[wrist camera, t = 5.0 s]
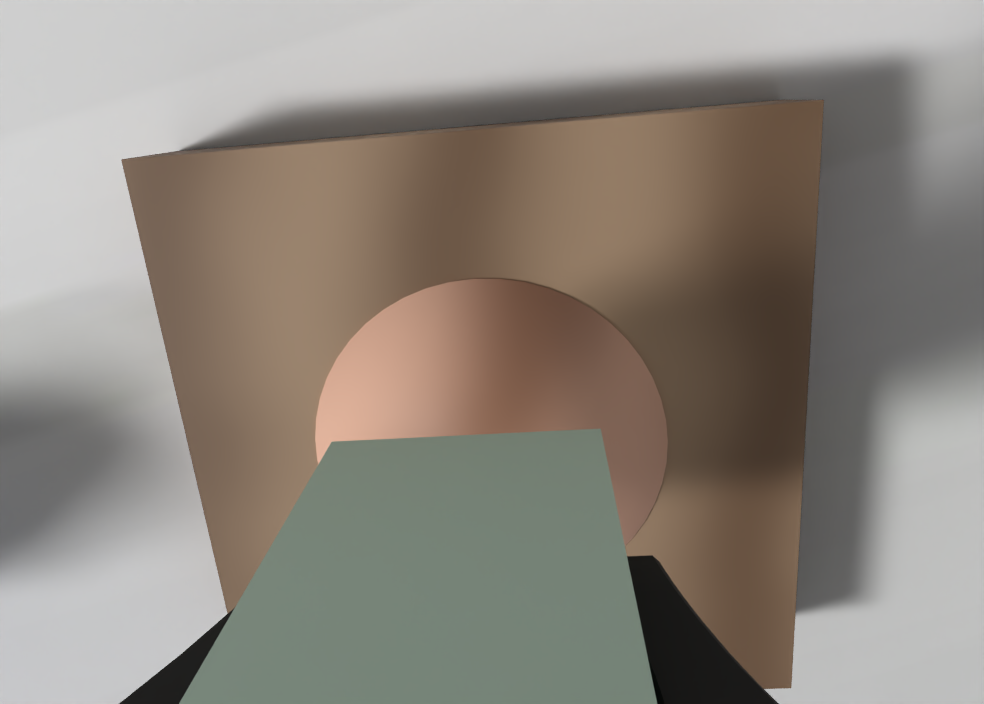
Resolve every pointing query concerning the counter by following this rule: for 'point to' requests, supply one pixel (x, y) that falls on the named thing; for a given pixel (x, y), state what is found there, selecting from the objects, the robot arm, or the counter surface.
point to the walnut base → (511, 323)
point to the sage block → (441, 582)
